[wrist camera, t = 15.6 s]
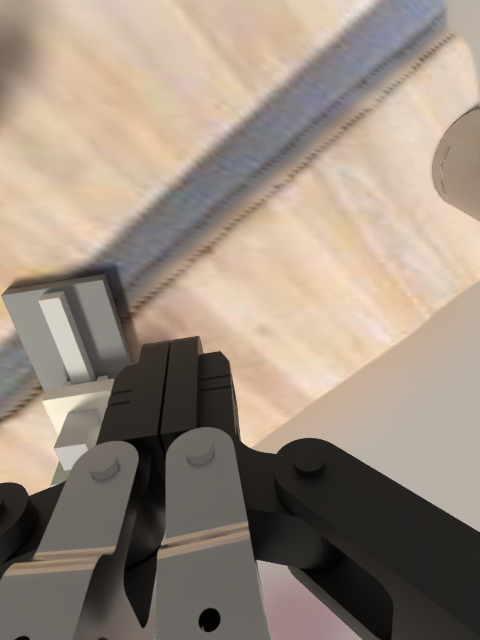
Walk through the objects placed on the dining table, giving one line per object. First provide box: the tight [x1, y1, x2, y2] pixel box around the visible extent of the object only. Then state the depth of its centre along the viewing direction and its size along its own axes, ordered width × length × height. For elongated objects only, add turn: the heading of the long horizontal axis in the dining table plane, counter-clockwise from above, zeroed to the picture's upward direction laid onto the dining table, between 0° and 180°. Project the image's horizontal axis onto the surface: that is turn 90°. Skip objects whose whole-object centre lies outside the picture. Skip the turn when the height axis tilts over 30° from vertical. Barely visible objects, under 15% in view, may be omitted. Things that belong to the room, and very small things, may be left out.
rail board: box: [1, 274, 134, 394], centre depth 48 cm, size 10×19×3 cm, turn 8°
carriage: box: [42, 375, 114, 471], centre depth 46 cm, size 7×7×8 cm
